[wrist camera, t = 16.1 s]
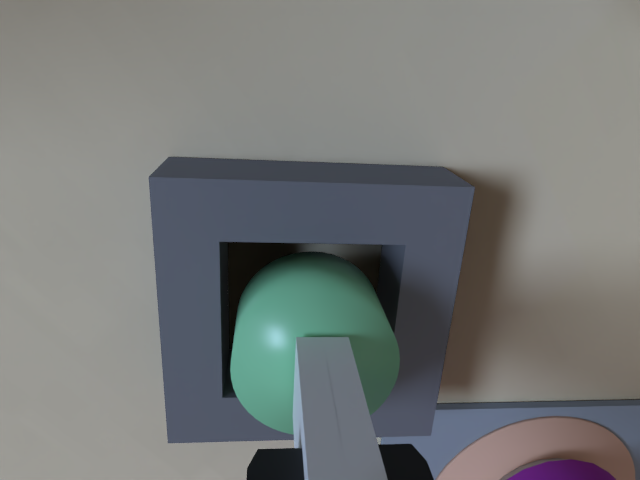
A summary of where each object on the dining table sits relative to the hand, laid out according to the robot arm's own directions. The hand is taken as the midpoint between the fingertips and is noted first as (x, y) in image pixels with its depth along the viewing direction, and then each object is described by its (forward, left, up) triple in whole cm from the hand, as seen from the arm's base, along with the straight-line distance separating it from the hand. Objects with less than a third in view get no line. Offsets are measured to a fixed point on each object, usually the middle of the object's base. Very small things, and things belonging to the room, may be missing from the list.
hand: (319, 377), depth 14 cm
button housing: (0, 0, -6) cm, 6 cm away
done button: (0, 0, -3) cm, 3 cm away
